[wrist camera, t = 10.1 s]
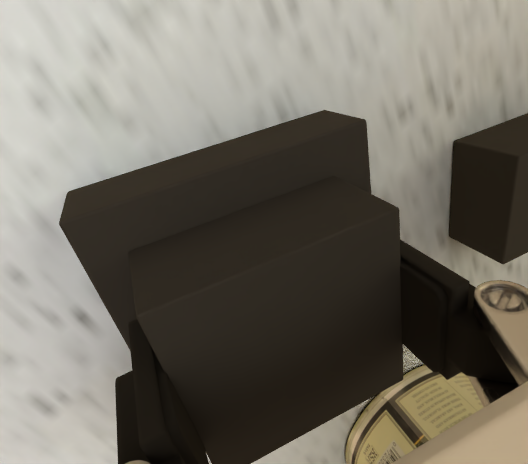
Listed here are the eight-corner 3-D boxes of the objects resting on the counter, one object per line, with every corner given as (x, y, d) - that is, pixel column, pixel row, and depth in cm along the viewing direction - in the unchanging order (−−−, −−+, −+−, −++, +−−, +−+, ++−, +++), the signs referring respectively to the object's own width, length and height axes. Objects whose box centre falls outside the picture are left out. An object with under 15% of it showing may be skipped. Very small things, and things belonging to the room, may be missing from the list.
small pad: (453, 140, 16) (519, 155, 13) (537, 108, 17) (612, 117, 15) (448, 236, 18) (502, 265, 16) (522, 203, 19) (584, 225, 17)
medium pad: (127, 250, 10) (135, 317, 7) (334, 174, 11) (400, 207, 9) (198, 399, 13) (220, 481, 11) (352, 324, 15) (404, 380, 12)
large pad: (66, 191, 11) (57, 222, 9) (325, 109, 13) (367, 119, 11) (166, 382, 15) (176, 433, 13) (348, 298, 18) (381, 331, 15)
